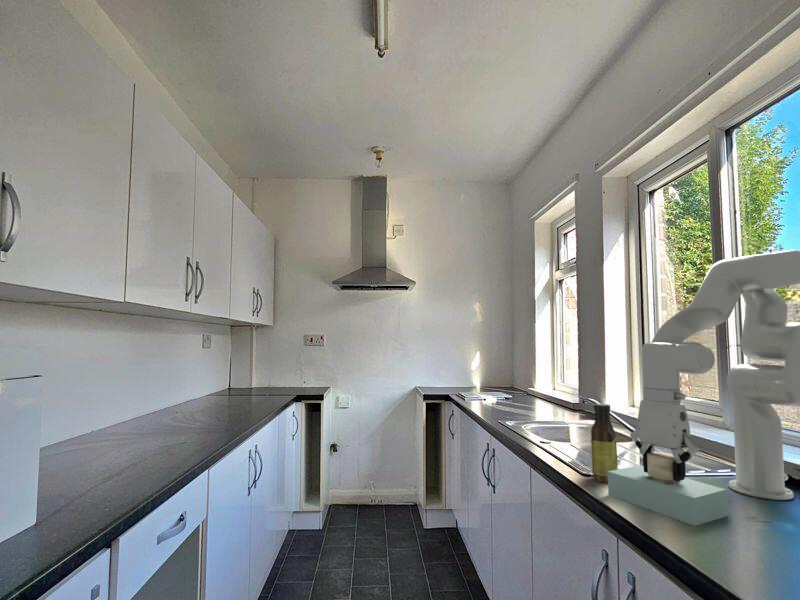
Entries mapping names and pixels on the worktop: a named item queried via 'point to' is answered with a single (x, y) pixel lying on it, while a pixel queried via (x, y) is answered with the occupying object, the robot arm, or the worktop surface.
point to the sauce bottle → (603, 444)
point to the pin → (661, 467)
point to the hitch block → (669, 496)
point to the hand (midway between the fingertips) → (663, 475)
